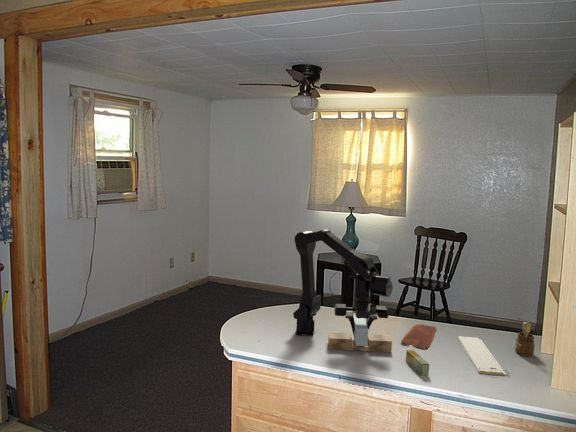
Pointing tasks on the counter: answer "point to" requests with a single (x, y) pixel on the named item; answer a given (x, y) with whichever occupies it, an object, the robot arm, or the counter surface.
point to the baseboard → (481, 356)
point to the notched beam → (346, 343)
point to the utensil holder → (525, 342)
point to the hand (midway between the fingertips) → (359, 333)
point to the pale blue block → (360, 331)
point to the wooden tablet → (419, 336)
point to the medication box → (417, 363)
